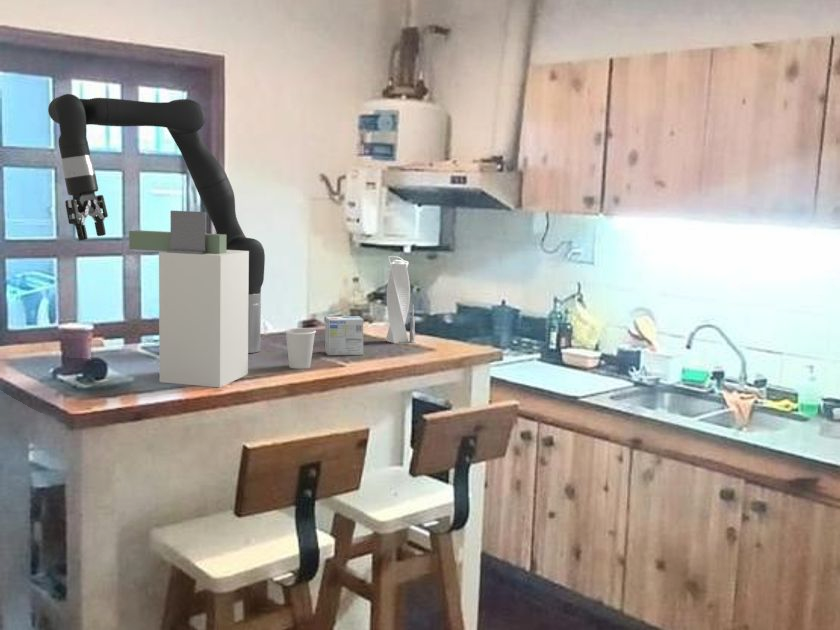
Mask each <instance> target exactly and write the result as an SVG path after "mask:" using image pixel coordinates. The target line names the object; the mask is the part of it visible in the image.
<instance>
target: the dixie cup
mask: <svg viewBox="0 0 840 630" xmlns="http://www.w3.org/2000/svg"><path fill="white" fill-rule="evenodd" d="M284 333H285V339H286V348H287V356H288V366H289V368H291V369H295V370H296V369H298V370H302V369H303V370H305V369H309V368H311V365H312V358H313V357H312V356H313V348H314V343H315V334H316V333H317V331H316V330H315V329H314V328H305V327H303V328H302V327H298V328H295V327H294V328H287V329H285V330H284Z"/></svg>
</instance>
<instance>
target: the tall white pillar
mask: <svg viewBox="0 0 840 630" xmlns="http://www.w3.org/2000/svg"><path fill="white" fill-rule="evenodd" d="M248 293H249V251H240V250H226V253H222V254H211V253H206V254H184V253H167V251H158V320H159V322H158V329H159V330H158V331H159V332H158V333H159V334H158V336H159V338H158V342H159V343H158V344H159V345H158V347H159V351H158V352H159V355H158V356H159V361H158V363H159V366H158V367H159V369H158V370H159V374H158V375H159V383H165V384H177V385H186V386H187V385H190V386H199V387H201V386H202V387H212V388H221V387H224V386H225V385H228V384H230V383H232V382H235V381H236V380H239V379H240V378H243V377H245V376H247V375H249V353H248Z"/></svg>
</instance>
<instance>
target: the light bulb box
mask: <svg viewBox="0 0 840 630" xmlns="http://www.w3.org/2000/svg"><path fill="white" fill-rule="evenodd" d="M324 318H325V319H324V320H325V323H324V325H325V327H324V328H325V331H324V332H325V333H324V335H325V336H324V338H325V340H324V343H325V345H324V346H325V348H324V352H325V354H327V356H356V355H357V356H361V355H364V318H362V317H361V316H360V315H357V316H356V315H355V316H344V315H343V316H325V317H324Z"/></svg>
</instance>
